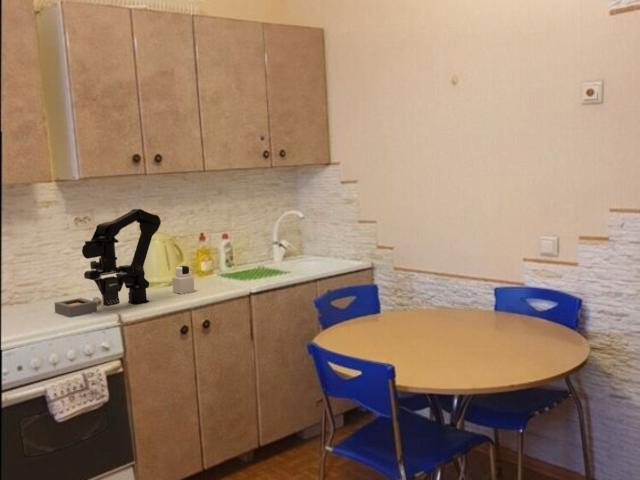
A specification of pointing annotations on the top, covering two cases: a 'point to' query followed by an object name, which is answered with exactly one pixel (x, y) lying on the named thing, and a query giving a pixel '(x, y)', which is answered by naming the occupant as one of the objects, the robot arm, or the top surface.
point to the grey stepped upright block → (183, 280)
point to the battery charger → (111, 291)
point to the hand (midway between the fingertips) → (111, 293)
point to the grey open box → (75, 307)
